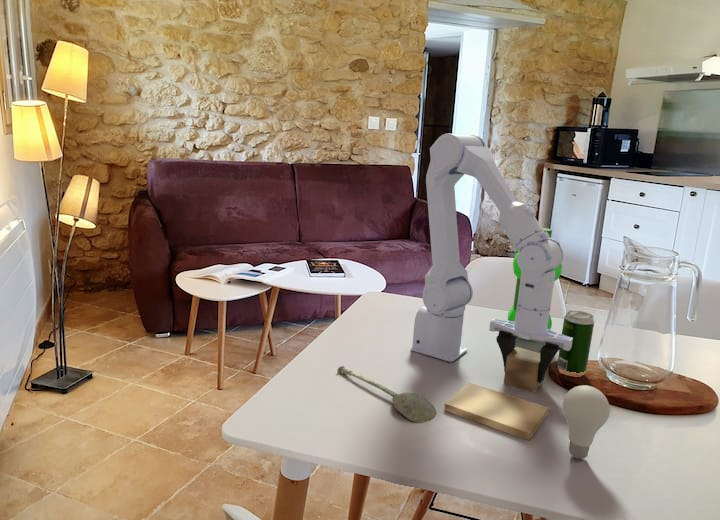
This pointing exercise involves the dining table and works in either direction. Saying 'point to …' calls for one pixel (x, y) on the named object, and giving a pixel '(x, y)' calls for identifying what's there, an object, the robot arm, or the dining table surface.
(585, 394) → the lightbulb
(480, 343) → the dining table surface
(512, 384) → the tan cube
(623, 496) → the dining table surface
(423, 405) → the soupspoon
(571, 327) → the beer can
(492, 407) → the oak board
